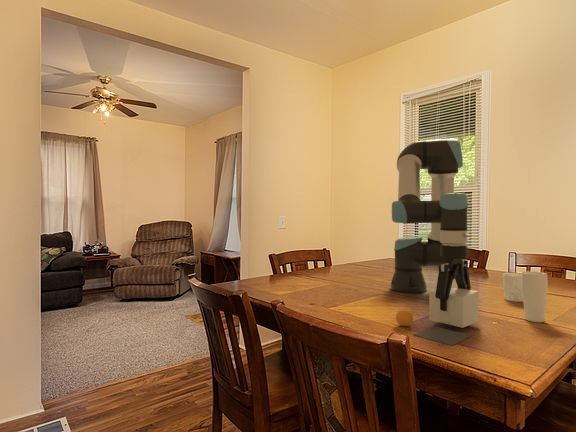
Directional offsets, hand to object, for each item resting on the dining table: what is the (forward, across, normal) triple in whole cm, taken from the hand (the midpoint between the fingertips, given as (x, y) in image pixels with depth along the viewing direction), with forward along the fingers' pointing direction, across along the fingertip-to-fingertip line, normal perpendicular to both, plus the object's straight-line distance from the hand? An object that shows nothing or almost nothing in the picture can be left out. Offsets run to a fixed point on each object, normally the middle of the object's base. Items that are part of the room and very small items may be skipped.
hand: (453, 317), depth 112 cm
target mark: (+2, -11, -2) cm, 12 cm away
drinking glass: (+3, +24, -14) cm, 28 cm away
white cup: (+3, +49, 0) cm, 49 cm away
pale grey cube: (+1, 0, 0) cm, 1 cm away
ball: (0, -11, +10) cm, 15 cm away
